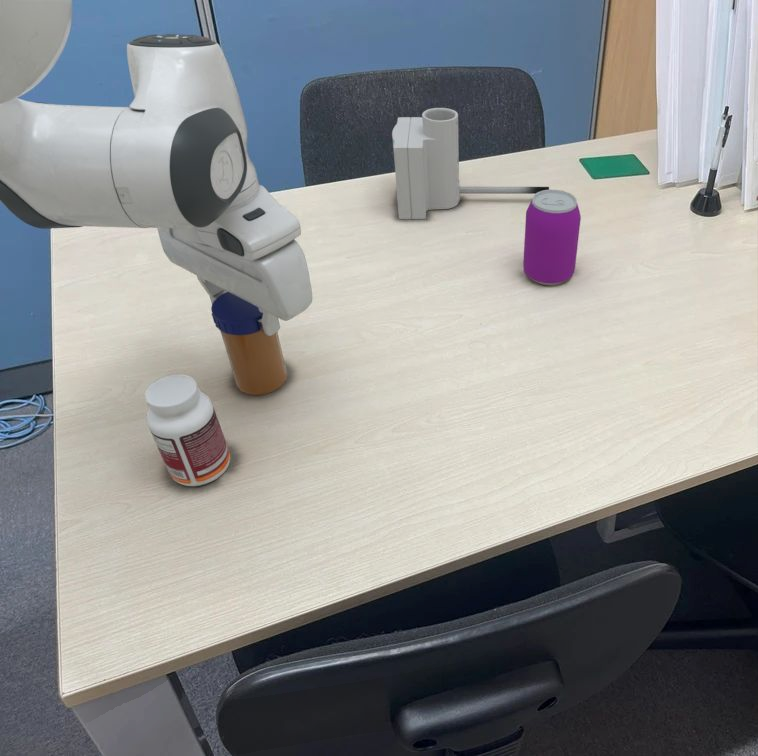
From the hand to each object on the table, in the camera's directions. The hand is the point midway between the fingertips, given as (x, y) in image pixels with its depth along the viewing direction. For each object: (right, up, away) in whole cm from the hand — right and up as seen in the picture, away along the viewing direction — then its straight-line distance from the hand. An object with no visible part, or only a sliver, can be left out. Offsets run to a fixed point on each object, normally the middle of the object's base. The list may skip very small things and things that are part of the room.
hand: (246, 318), depth 79 cm
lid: (0, +1, -1) cm, 2 cm away
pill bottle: (-3, -16, -5) cm, 17 cm away
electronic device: (+24, +23, +42) cm, 53 cm away
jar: (0, -7, +6) cm, 9 cm away
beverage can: (+36, +9, +25) cm, 45 cm away
